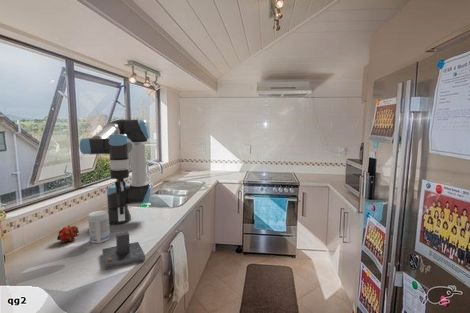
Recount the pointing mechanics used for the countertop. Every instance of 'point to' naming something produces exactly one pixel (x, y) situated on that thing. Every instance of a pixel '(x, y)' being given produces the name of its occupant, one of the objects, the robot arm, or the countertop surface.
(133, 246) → the socket plate
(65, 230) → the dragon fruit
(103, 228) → the supplement tub
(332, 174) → the countertop surface
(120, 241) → the plug
